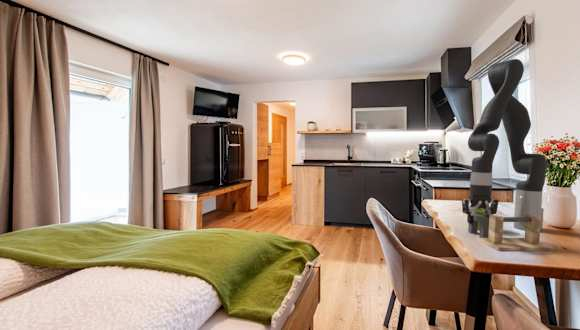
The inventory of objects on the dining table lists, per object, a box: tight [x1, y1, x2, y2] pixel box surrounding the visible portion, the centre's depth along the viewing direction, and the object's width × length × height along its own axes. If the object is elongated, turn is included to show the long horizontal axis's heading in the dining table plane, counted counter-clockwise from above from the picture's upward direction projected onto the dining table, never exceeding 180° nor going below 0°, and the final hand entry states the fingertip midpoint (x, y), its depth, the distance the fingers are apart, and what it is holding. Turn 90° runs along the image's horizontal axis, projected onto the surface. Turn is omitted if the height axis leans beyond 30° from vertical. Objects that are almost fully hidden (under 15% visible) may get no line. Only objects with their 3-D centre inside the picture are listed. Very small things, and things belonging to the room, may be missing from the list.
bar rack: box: [476, 214, 554, 252], centre depth 109 cm, size 20×11×11 cm, turn 92°
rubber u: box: [467, 214, 489, 238], centre depth 121 cm, size 2×9×8 cm, turn 2°
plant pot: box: [473, 207, 486, 231], centre depth 132 cm, size 9×9×9 cm
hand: (478, 224), depth 121 cm, fingers open, 6 cm apart
